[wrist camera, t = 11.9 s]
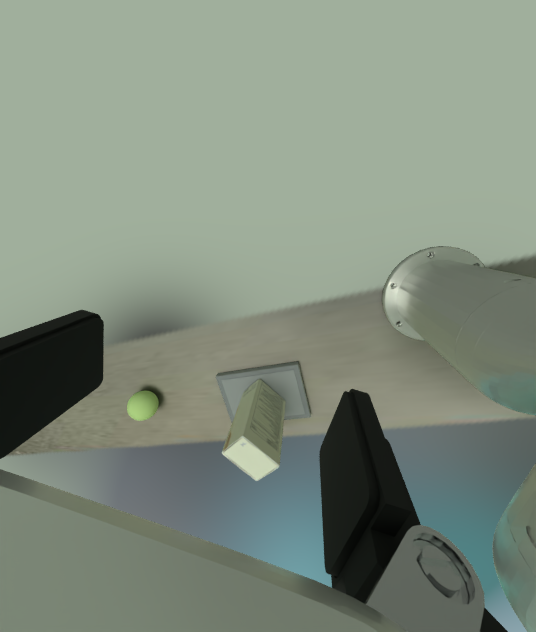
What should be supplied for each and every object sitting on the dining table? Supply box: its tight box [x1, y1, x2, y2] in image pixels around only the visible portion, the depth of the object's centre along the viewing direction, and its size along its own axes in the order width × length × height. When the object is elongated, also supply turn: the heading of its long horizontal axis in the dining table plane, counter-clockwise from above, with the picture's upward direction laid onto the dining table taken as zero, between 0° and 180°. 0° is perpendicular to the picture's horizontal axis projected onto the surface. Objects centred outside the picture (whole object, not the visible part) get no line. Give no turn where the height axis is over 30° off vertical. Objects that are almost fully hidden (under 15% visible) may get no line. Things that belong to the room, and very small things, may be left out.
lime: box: [127, 391, 159, 421], centre depth 45 cm, size 5×5×5 cm
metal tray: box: [216, 361, 311, 423], centre depth 43 cm, size 14×10×1 cm
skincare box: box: [222, 379, 286, 481], centre depth 36 cm, size 6×4×12 cm
